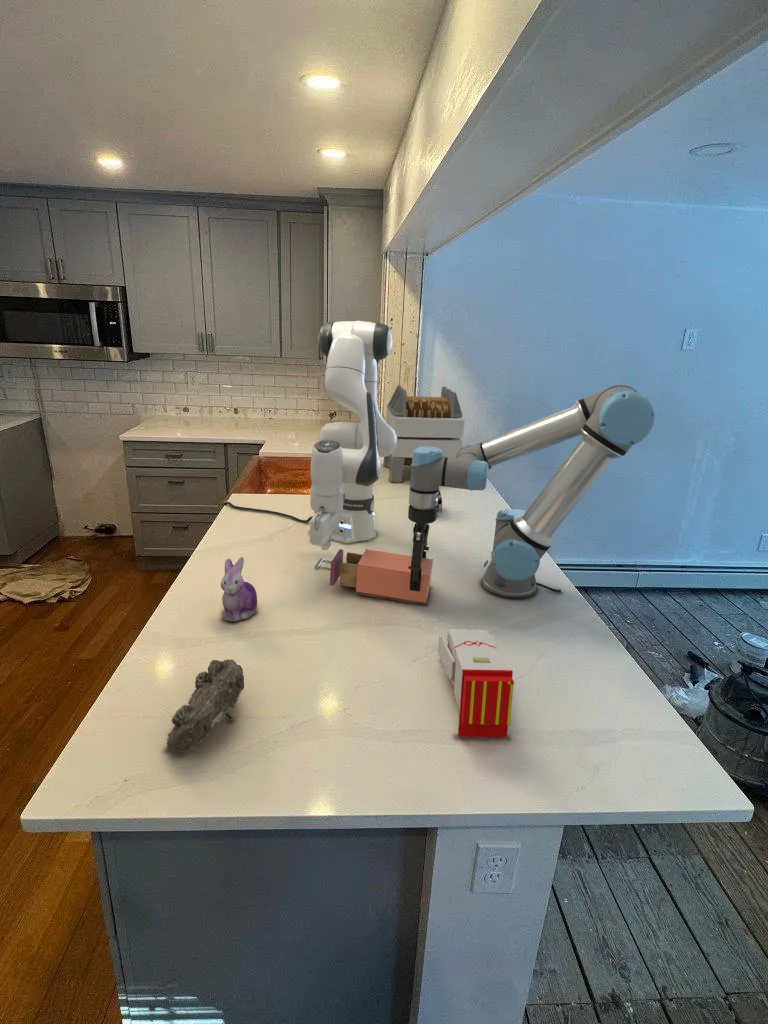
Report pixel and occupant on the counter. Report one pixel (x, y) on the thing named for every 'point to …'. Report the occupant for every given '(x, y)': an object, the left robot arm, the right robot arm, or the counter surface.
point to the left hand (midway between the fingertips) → (326, 548)
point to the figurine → (237, 593)
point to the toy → (478, 682)
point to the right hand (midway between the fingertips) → (417, 580)
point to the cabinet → (391, 577)
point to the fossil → (206, 705)
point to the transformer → (423, 427)
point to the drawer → (342, 568)
